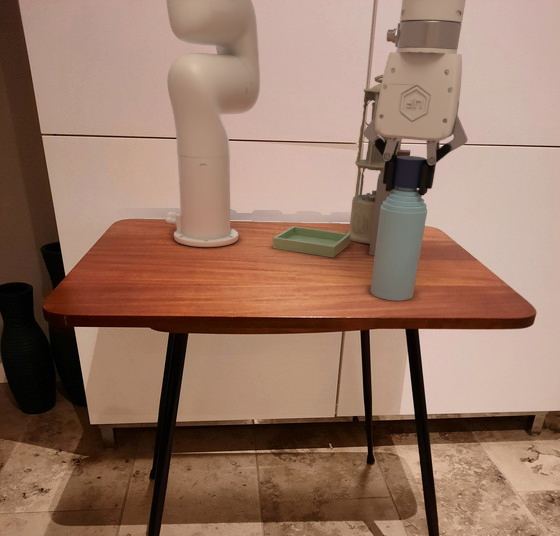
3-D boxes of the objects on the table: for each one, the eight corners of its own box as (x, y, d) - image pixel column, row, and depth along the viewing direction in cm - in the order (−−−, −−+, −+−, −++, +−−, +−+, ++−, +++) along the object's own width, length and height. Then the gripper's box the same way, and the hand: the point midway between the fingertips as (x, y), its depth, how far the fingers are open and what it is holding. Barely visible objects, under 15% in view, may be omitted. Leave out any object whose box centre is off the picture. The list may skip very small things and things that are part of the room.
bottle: (365, 296, 83) (381, 164, 74) (376, 283, 88) (392, 159, 79) (408, 303, 81) (430, 169, 72) (416, 290, 86) (438, 163, 77)
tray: (272, 248, 104) (272, 237, 103) (292, 235, 112) (293, 226, 111) (333, 257, 100) (334, 246, 99) (349, 244, 108) (350, 234, 107)
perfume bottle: (405, 258, 101) (421, 154, 92) (368, 254, 102) (380, 151, 93) (405, 248, 107) (420, 149, 98) (370, 245, 108) (382, 147, 99)
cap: (386, 183, 77) (389, 156, 76) (408, 182, 79) (412, 155, 77) (405, 189, 74) (409, 160, 72) (428, 187, 76) (432, 159, 74)
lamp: (352, 245, 107) (369, 71, 93) (339, 228, 119) (352, 71, 104) (403, 245, 108) (427, 73, 94) (385, 228, 120) (405, 73, 105)
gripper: (354, 37, 68) (341, 189, 77) (494, 40, 62) (463, 203, 71) (371, 41, 74) (357, 181, 83) (500, 43, 68) (470, 194, 77)
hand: (406, 190), depth 77 cm, fingers closed on cap, 4 cm apart
